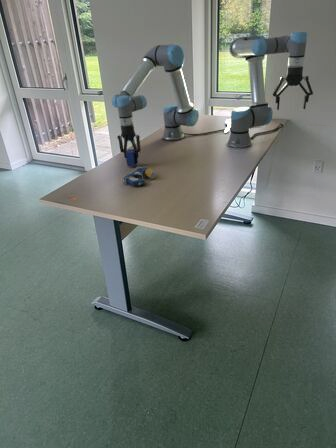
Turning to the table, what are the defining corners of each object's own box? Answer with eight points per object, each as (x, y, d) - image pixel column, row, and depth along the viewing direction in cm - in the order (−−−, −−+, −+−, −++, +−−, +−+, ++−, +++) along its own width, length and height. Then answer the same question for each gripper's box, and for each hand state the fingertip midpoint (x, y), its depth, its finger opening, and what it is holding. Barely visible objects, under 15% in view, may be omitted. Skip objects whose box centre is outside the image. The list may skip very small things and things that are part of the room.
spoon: (232, 135, 248) (232, 132, 246) (218, 134, 251) (218, 132, 250) (241, 119, 274) (241, 117, 273) (228, 119, 278) (228, 117, 276)
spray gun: (161, 173, 192) (139, 170, 198) (160, 166, 189) (138, 164, 196) (143, 189, 176) (120, 186, 183) (142, 181, 174) (118, 179, 180)
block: (127, 166, 202) (125, 152, 198) (130, 162, 207) (128, 149, 203) (134, 166, 201) (133, 152, 197) (137, 162, 206) (135, 149, 202)
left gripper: (110, 126, 191) (116, 165, 203) (140, 126, 187) (144, 165, 199) (114, 123, 197) (120, 160, 209) (143, 122, 193) (147, 160, 205)
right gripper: (270, 68, 171) (267, 111, 182) (323, 65, 166) (316, 109, 177) (269, 66, 177) (266, 108, 188) (320, 63, 172) (314, 106, 183)
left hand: (132, 162), depth 204 cm, fingers closed on block, 5 cm apart
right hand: (290, 109), depth 182 cm, fingers open, 13 cm apart
